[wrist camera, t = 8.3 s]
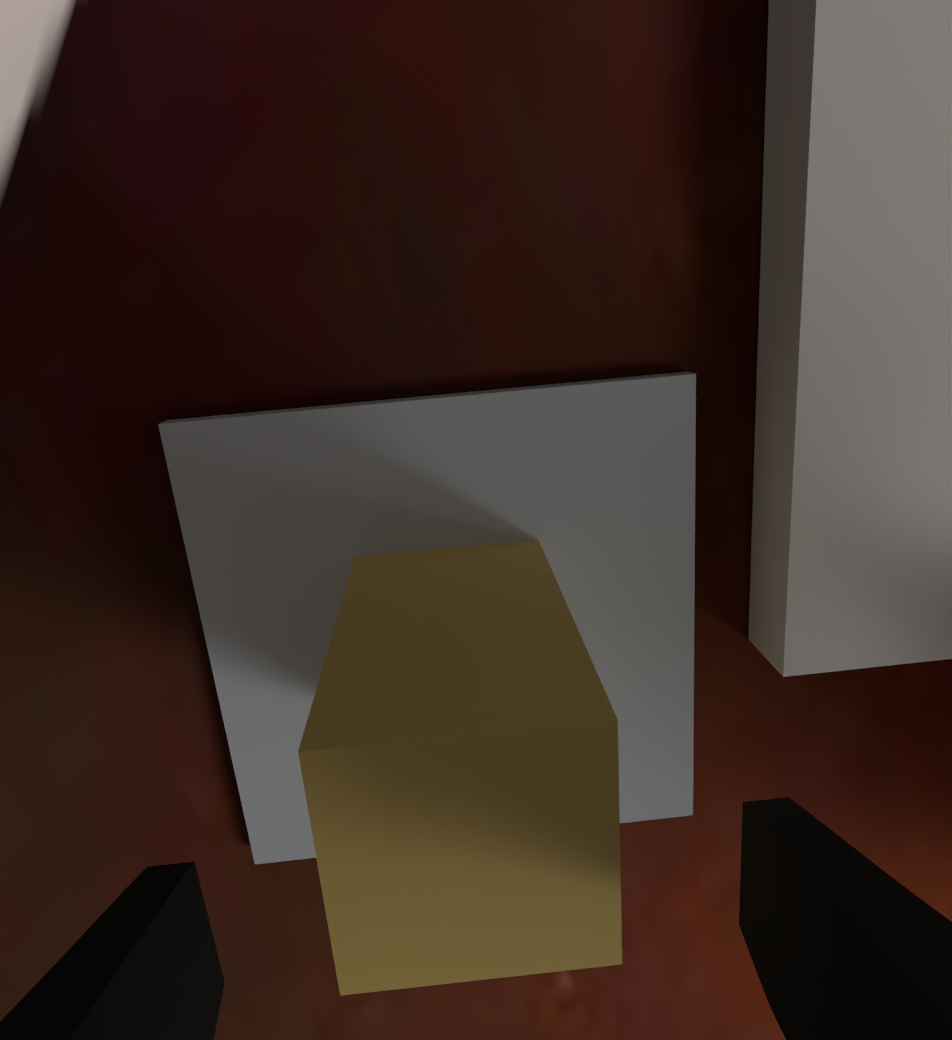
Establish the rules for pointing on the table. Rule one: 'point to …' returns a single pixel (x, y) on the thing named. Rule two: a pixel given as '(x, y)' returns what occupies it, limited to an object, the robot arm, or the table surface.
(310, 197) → the table surface
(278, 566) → the mat
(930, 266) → the pocket holder
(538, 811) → the block
